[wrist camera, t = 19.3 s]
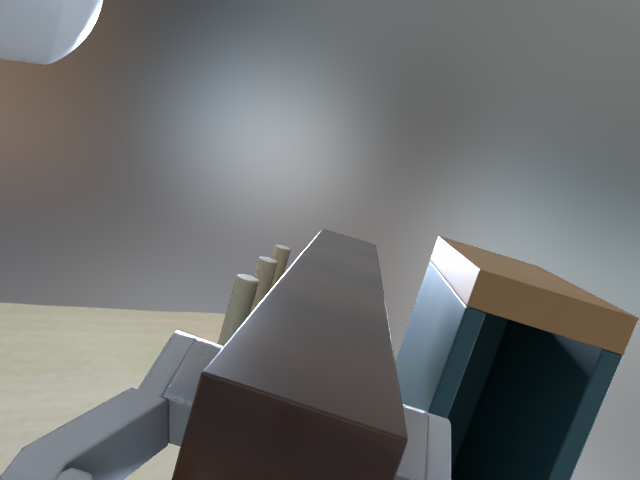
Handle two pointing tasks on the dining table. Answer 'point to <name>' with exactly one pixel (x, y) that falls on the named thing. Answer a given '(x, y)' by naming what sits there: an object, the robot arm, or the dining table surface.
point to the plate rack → (493, 358)
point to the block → (304, 380)
